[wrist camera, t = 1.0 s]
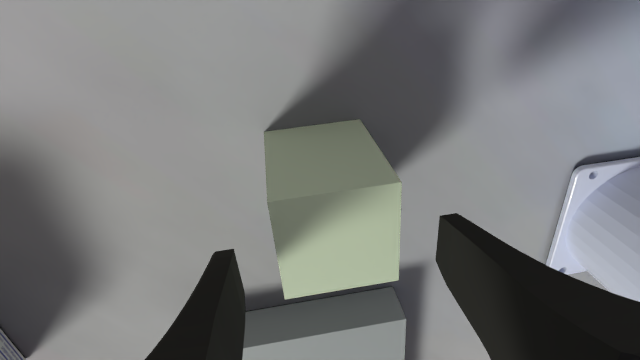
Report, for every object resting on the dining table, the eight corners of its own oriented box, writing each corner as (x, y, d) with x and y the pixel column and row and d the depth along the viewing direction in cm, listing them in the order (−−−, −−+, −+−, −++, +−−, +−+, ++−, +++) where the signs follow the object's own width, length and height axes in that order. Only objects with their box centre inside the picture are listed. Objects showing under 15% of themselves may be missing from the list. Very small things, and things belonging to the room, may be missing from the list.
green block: (359, 119, 18) (401, 182, 13) (362, 199, 20) (398, 280, 15) (263, 131, 18) (267, 201, 12) (277, 211, 20) (284, 299, 15)
